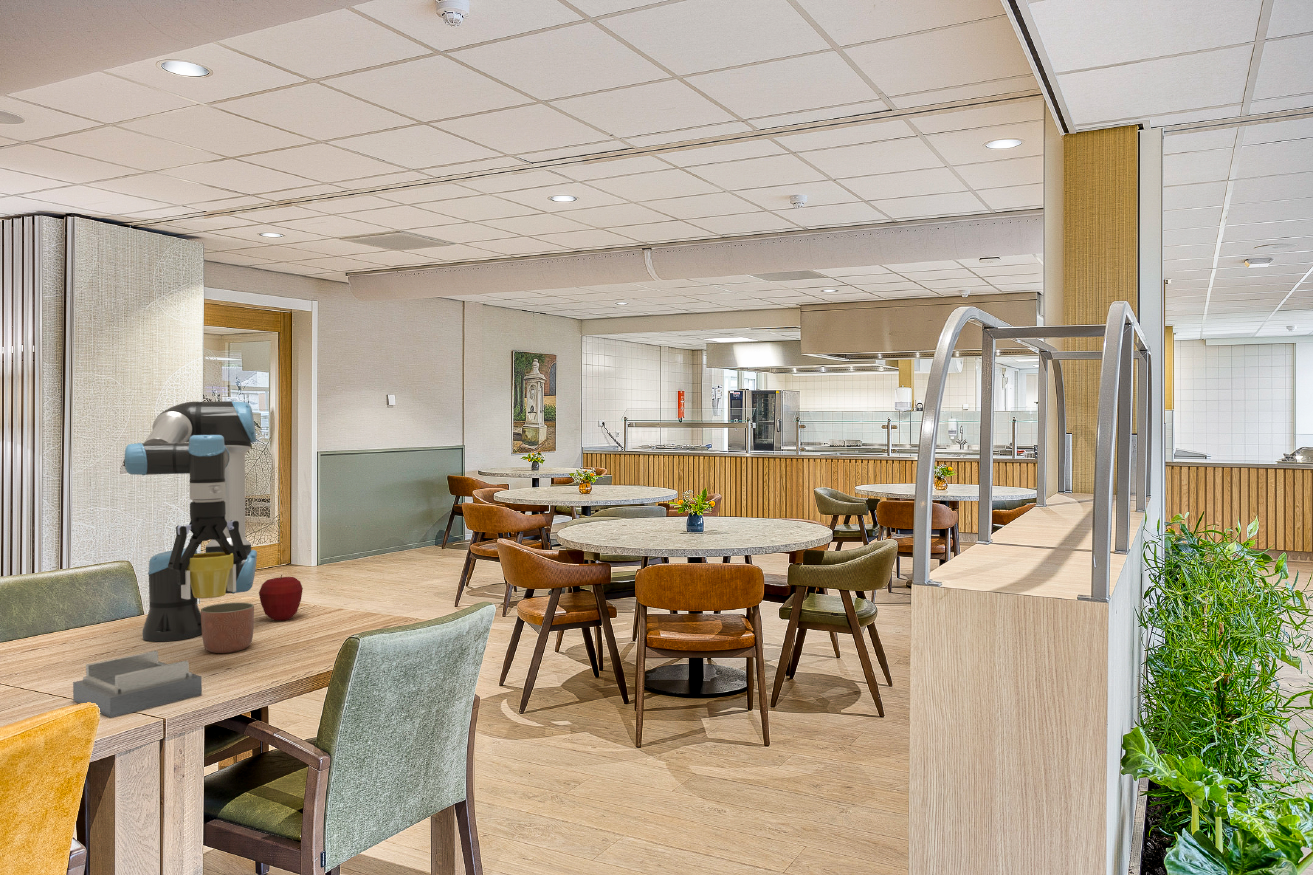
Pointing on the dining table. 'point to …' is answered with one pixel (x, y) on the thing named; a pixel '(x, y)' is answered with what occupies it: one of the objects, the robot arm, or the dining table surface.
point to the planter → (227, 627)
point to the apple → (281, 597)
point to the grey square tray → (135, 684)
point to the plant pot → (209, 574)
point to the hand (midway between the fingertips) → (209, 594)
